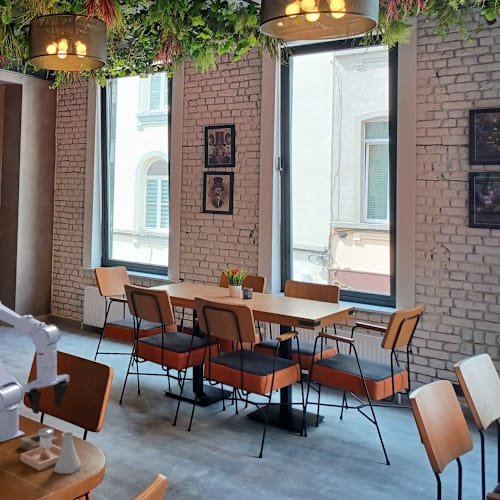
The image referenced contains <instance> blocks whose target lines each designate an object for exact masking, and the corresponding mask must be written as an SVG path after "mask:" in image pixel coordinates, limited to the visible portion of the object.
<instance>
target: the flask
mask: <svg viewBox="0 0 500 500" xmlns="http://www.w3.org/2000/svg"><path fill="white" fill-rule="evenodd" d="M74 434H75V433H74V432H72V431H65V432H63V433H61V438H62V443H61V447H60V448H61V451H60V454H59V457H58V460H57V463H56V465H54V469H53V472H54V473H58V474H61V475H63V474H68V475H69V474H70V475H71V474H74V473H76V472H77V471H80V470H81V466H82V463H81V461H80V458H79V456H78V454H77V450H76V448H75V445H74V440H73V439H74Z"/></svg>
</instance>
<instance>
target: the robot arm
mask: <svg viewBox="0 0 500 500" xmlns="http://www.w3.org/2000/svg"><path fill="white" fill-rule="evenodd" d="M0 320H1V321H3V322H4V323H7V324H9V325H12V326H14V327H15V328H14V329H15V331H16V332H17V333H19V334H20V335H22V336H25V337H26V338H28V339H30V340H31V341H32V344H33V345H34V346H35V352H36V379H35V380H33V381H30V382H27V383H26V384H25V383H24V384H23V385H21V384H20V383H19V382H18V380H17V379H16V378H17V377H14V376H12V375H9V374H8V372H7V369H6V368H5V366H4V364H3V361H2V359H1V358H0V442H1V443H2V442H6V441H9V440H11V439H15V438H18V437H21V436H25V434H26V433H25V432H23V431H22V430H19V429H20V423H19V422H20V412H19V411H20V408H19V407H20V405H21V401H22V400H23V399H24V396H25V395H26V397H27V399H28V401H29V403H30V406H31V410H32V413H33V414H36V415H37V414H39V412H40V401H41V400H40V399H41V394H42V392H40V391H39V390H40V389H42V388H46V387H51V386H52V387H53V392H54V407H55V406H56V407H58V408H61V407H62V403H63V401H64V400H63V399H64V396H65V394H66V392H67V390H68V388H69V383H68V382H70V375H69V374H66V373H65V374H60V375H58V369H57V364H58V360H57V359H58V357H57V356H58V355H57V354H58V347H57V346H58V345H57V344H58V342H59V341H60V339H61V334H62V333H61V331H60V328H58V327H57V325H55V324H48V325H47V324H46V323H45V322H44V321H43V322H41V321H39V320H38V319H35V318H34V316H33V315H32V314H28V315H27V314H24V315H20V314H18V313H17V312H15V311H13V310H12V309H10V308H8V307H7V306H5V305H4V304H2V302H1V300H0ZM38 389H39V390H38Z"/></svg>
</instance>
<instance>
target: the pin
mask: <svg viewBox="0 0 500 500" xmlns="http://www.w3.org/2000/svg"><path fill="white" fill-rule="evenodd" d="M54 432H55V430H54V428H51V427H45V428H40V429H39V430H38V431H37V433H38V435H39V436H40V459H42V460H47V459H50V458H51V456H52V435H53V436H54V434H55V433H54Z"/></svg>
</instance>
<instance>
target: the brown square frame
mask: <svg viewBox="0 0 500 500" xmlns="http://www.w3.org/2000/svg"><path fill="white" fill-rule="evenodd" d="M59 441H60V439H59V437H58V436H56V435H54V434H53V435H52V444H53V445H56V446H58V447H60V442H59ZM39 447H40V436H39V435H38V432H36V433H34V434H31V435H28V436H24V437H21V438H19V448H20V449H23V450H24V451H26V452H27V451H30V450H33V449H36V448H39Z"/></svg>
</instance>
